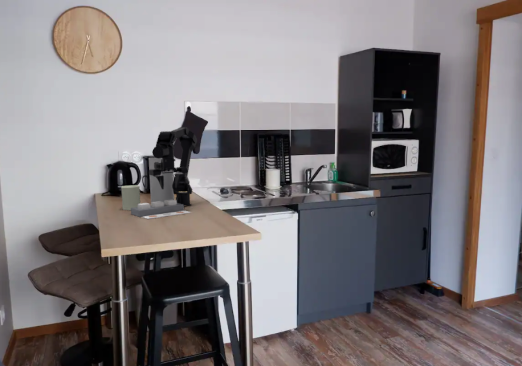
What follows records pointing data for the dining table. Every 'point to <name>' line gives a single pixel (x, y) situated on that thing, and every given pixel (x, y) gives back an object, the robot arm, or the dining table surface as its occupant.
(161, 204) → the button middle
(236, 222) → the dining table surface
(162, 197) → the cylinder vase
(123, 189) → the can
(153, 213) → the button board
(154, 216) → the pattern card
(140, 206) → the button
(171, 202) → the button
